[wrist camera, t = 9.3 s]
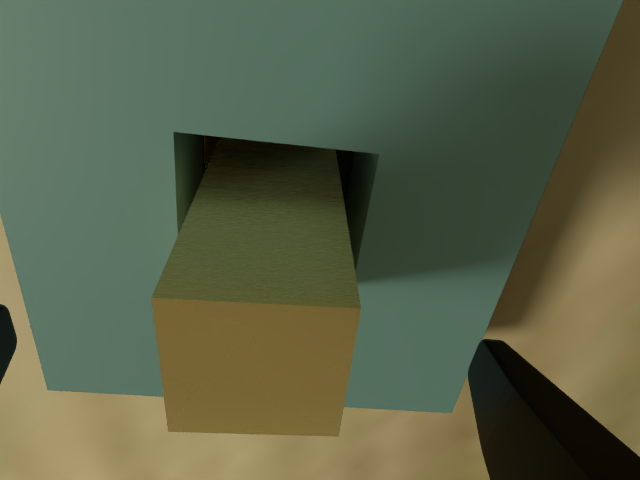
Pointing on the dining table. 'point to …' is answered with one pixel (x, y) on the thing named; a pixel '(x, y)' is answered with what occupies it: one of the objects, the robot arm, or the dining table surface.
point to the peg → (259, 296)
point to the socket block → (287, 128)
